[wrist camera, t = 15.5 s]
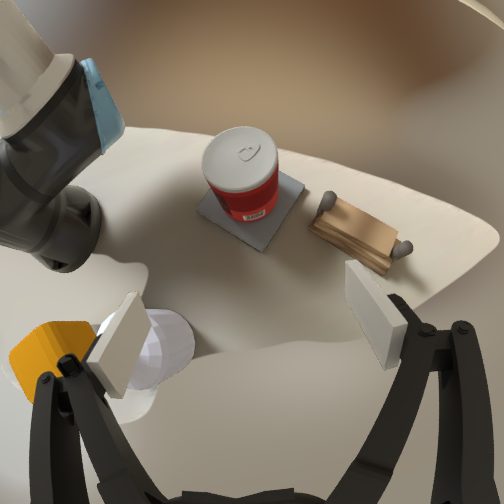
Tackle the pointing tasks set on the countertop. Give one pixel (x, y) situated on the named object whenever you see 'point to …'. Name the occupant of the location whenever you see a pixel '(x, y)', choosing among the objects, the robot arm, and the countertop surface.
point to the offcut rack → (358, 234)
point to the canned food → (243, 172)
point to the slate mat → (262, 229)
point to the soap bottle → (82, 335)
